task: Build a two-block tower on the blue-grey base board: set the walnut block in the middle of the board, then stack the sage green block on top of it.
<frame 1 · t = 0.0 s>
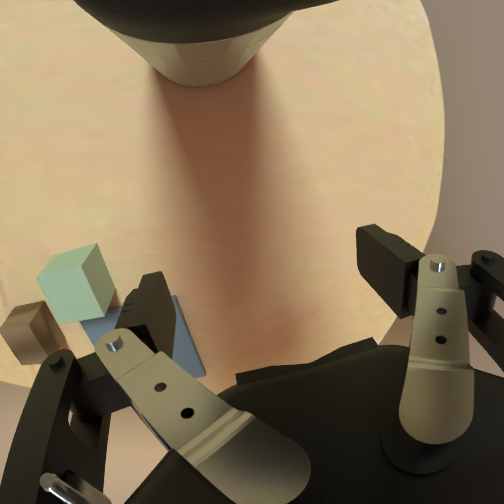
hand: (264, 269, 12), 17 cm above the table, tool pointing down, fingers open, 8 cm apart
walnut block: (39, 321, 31), on the table
sage green block: (84, 271, 29), on the table
base board: (144, 345, 34), on the table
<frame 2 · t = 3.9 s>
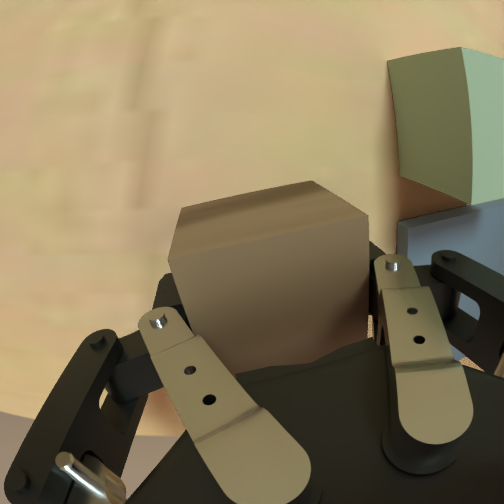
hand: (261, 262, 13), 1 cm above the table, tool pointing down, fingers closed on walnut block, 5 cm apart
walnut block: (259, 253, 14), on the table, touching gripper
sage green block: (436, 117, 12), on the table
base board: (463, 290, 17), on the table
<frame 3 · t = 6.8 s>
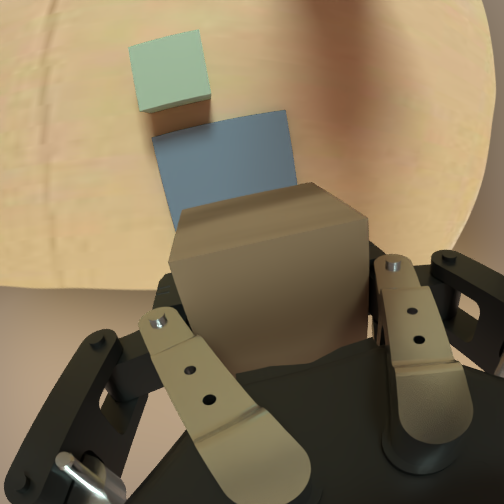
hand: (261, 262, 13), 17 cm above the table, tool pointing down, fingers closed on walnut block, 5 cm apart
walnut block: (259, 255, 14), point 16 cm above the table, touching gripper
sage green block: (175, 77, 24), on the table
base board: (230, 184, 28), on the table
when the fingers open (3 cm above the table, at t = 9.9 s): walnut block stays where it is, resting on base board.
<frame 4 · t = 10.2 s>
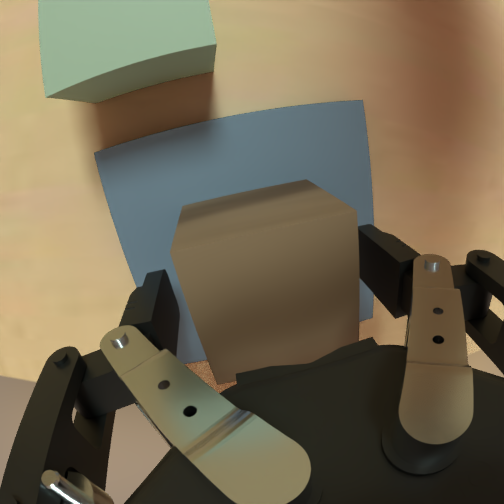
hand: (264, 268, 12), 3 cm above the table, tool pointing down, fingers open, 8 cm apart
walnut block: (256, 249, 14), point 1 cm above the table, touching base board
sage green block: (143, 33, 11), on the table
base board: (253, 240, 15), on the table
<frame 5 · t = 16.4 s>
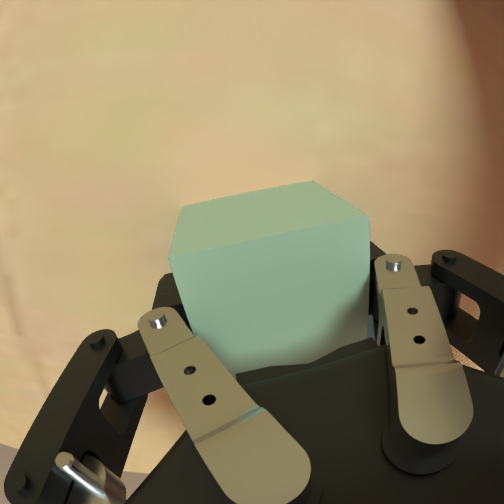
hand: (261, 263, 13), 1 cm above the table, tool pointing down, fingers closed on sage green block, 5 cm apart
sage green block: (258, 253, 14), on the table, touching gripper
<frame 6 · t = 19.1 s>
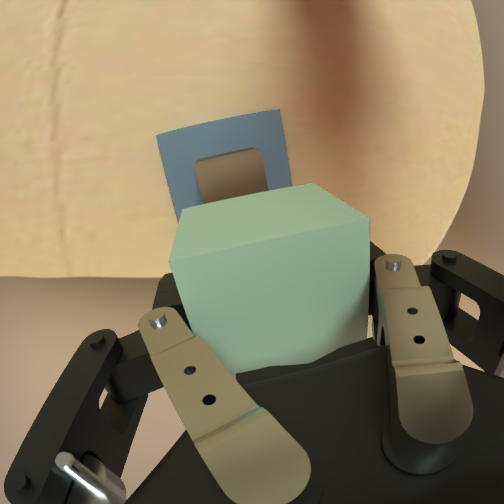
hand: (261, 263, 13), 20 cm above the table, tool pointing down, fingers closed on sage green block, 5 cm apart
walnut block: (230, 180, 30), point 1 cm above the table, touching base board
sage green block: (259, 255, 14), point 19 cm above the table, touching gripper
base board: (229, 177, 31), on the table
when the fingers open (8 cm above the table, at t = 21.8 s): sage green block stays where it is, resting on walnut block.
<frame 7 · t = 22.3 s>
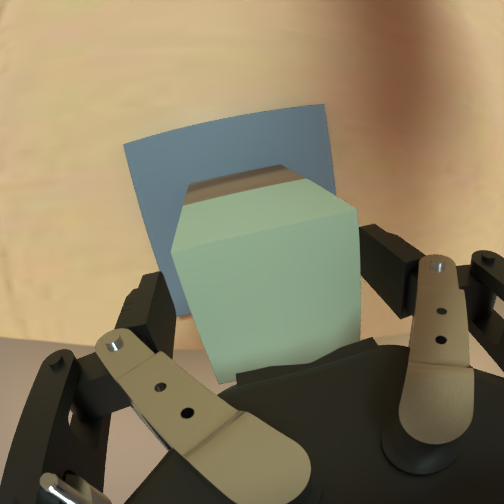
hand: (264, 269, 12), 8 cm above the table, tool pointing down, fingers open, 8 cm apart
walnut block: (244, 217, 19), point 1 cm above the table, touching base board, sage green block
sage green block: (257, 248, 14), point 6 cm above the table, touching walnut block
base board: (241, 211, 20), on the table
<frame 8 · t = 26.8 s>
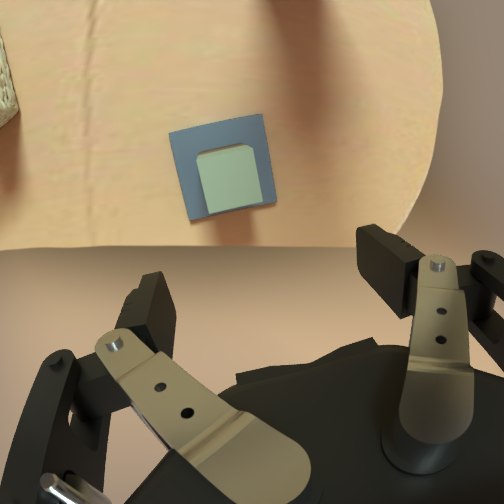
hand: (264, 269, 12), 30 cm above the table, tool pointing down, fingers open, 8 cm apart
sage green block: (227, 173, 34), point 6 cm above the table, touching walnut block
base board: (224, 166, 40), on the table
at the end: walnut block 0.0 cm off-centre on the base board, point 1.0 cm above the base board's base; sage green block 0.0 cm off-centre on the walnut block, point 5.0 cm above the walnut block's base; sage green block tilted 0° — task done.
